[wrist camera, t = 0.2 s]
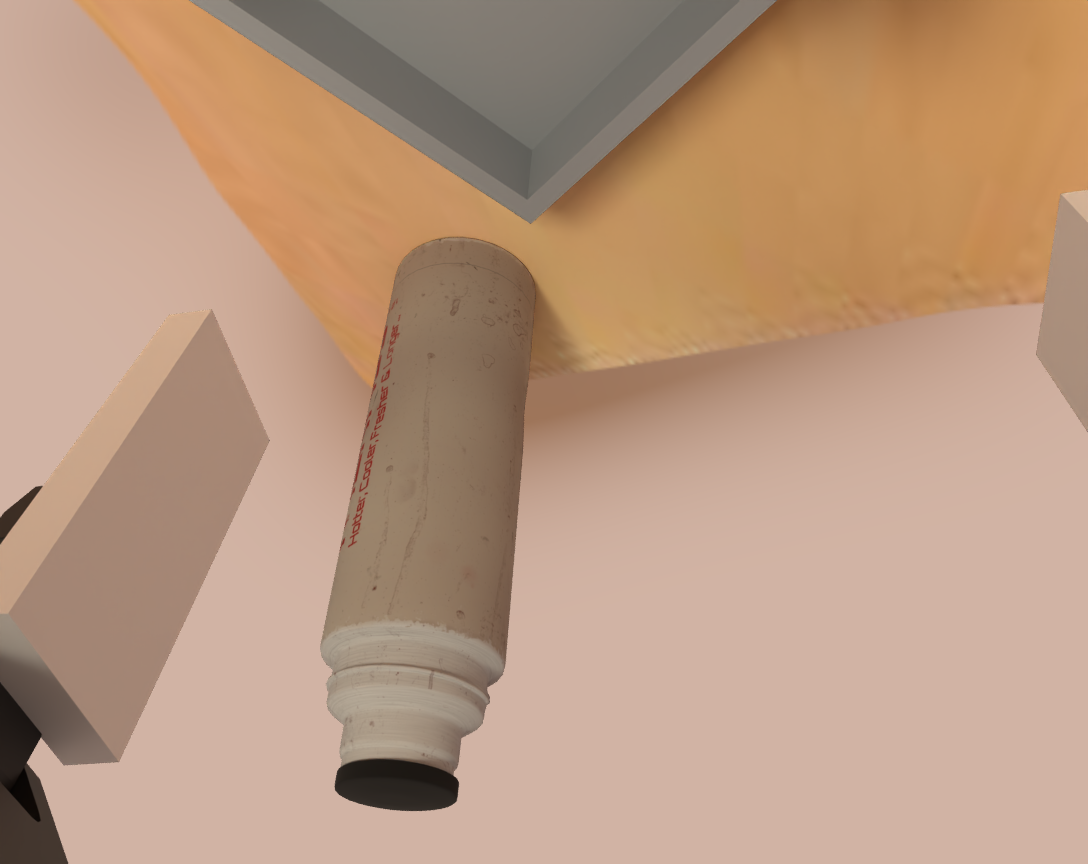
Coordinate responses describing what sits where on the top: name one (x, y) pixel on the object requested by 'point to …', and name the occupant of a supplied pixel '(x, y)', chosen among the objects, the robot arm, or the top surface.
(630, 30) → the tray
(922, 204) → the top surface
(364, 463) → the thermos bottle
